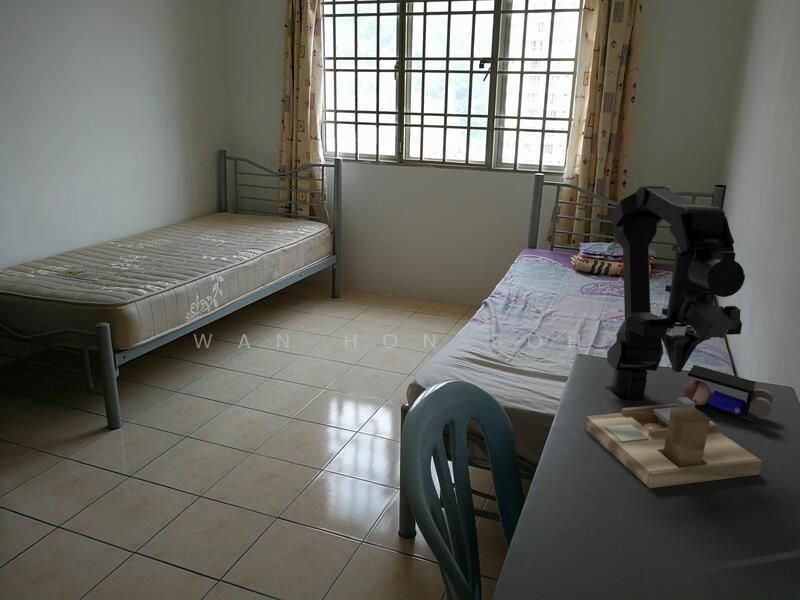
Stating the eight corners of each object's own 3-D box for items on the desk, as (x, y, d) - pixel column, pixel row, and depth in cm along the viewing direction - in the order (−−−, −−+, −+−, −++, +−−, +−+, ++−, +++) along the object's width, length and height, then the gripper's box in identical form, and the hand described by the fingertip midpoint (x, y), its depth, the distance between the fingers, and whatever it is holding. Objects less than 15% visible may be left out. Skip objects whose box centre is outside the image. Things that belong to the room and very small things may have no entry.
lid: (652, 413, 116) (655, 394, 115) (688, 410, 118) (691, 391, 116) (676, 430, 110) (680, 410, 108) (713, 426, 111) (717, 407, 110)
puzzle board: (583, 431, 114) (586, 411, 113) (679, 422, 119) (683, 402, 118) (649, 491, 97) (653, 468, 96) (758, 477, 102) (763, 455, 101)
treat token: (638, 431, 114) (639, 424, 114) (655, 429, 115) (656, 422, 115) (650, 441, 111) (652, 433, 110) (668, 439, 112) (670, 431, 111)
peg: (661, 464, 103) (671, 408, 100) (682, 462, 104) (692, 406, 101) (677, 478, 100) (688, 420, 97) (699, 475, 101) (710, 418, 98)
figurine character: (765, 422, 124) (683, 393, 132) (778, 387, 122) (694, 360, 129) (762, 435, 119) (677, 405, 126) (776, 399, 116) (688, 370, 123)
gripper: (671, 295, 96) (657, 392, 100) (775, 293, 101) (758, 386, 104) (629, 279, 107) (618, 367, 111) (724, 278, 111) (710, 363, 115)
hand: (676, 371), depth 110 cm, fingers closed
